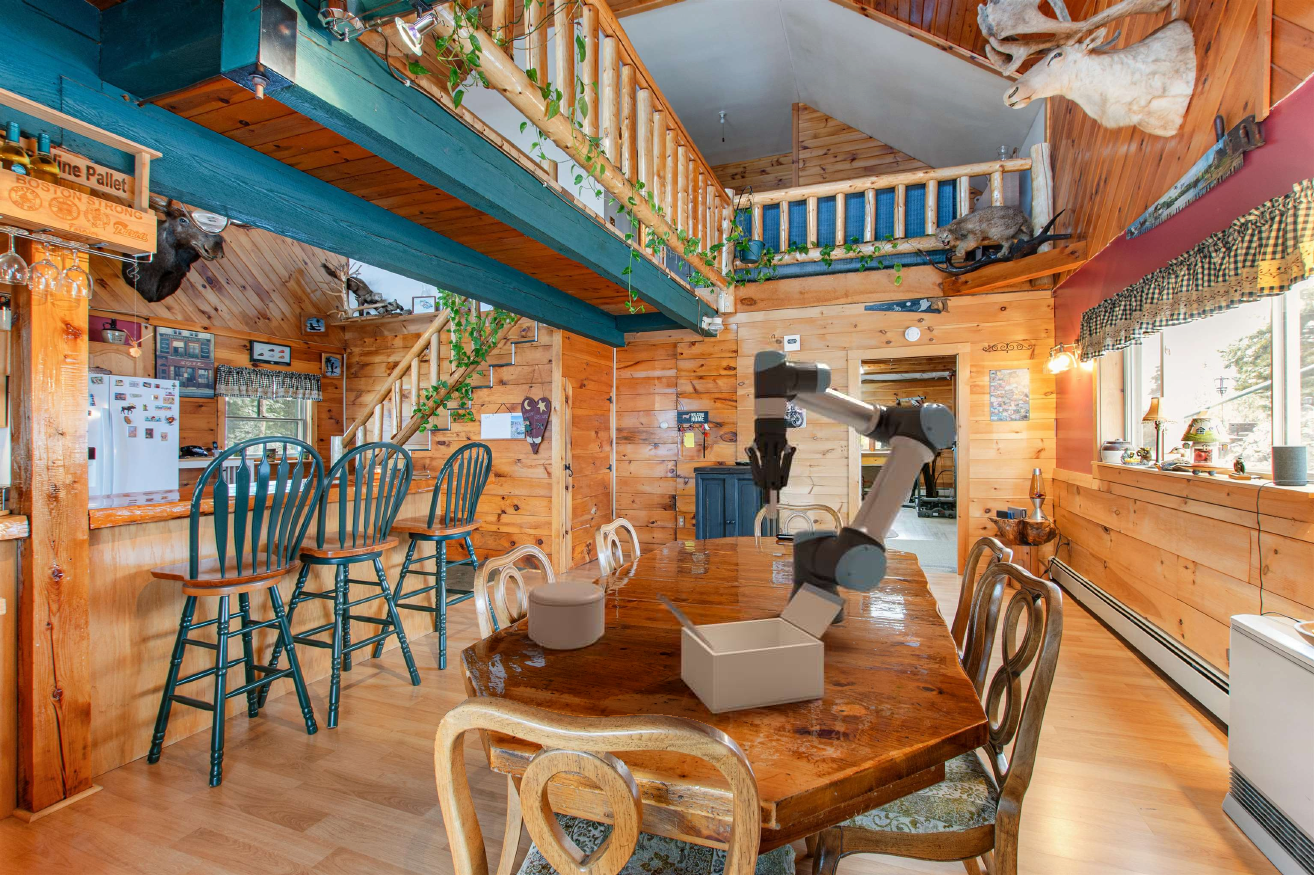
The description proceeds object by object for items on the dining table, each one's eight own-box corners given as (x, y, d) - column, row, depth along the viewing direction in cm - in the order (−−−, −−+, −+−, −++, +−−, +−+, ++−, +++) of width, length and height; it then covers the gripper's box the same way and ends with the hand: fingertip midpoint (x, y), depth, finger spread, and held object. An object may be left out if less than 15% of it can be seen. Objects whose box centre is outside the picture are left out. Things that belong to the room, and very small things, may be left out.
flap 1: (658, 593, 114) (656, 595, 114) (683, 613, 101) (681, 615, 101) (686, 624, 116) (684, 626, 116) (714, 648, 103) (712, 650, 103)
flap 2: (779, 615, 123) (781, 617, 123) (817, 637, 109) (819, 638, 109) (804, 582, 124) (806, 583, 124) (845, 599, 111) (846, 600, 111)
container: (553, 658, 127) (554, 603, 127) (514, 636, 141) (514, 587, 141) (619, 639, 139) (620, 590, 139) (577, 622, 153) (577, 576, 153)
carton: (779, 665, 124) (780, 617, 124) (823, 697, 108) (823, 643, 108) (681, 677, 117) (681, 627, 117) (712, 713, 102) (713, 655, 102)
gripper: (785, 418, 144) (786, 514, 144) (738, 417, 140) (738, 517, 140) (803, 416, 137) (803, 518, 137) (753, 416, 133) (754, 521, 133)
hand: (771, 517), depth 139 cm, fingers closed
